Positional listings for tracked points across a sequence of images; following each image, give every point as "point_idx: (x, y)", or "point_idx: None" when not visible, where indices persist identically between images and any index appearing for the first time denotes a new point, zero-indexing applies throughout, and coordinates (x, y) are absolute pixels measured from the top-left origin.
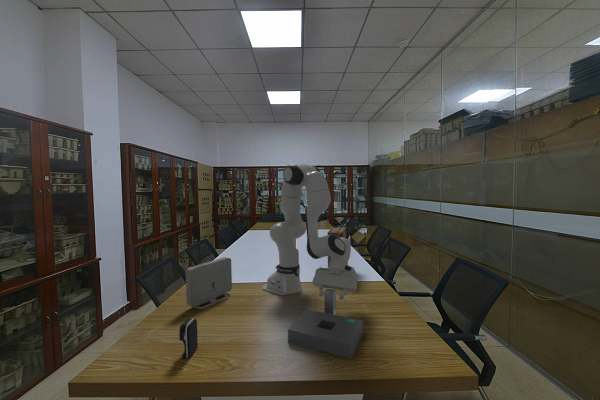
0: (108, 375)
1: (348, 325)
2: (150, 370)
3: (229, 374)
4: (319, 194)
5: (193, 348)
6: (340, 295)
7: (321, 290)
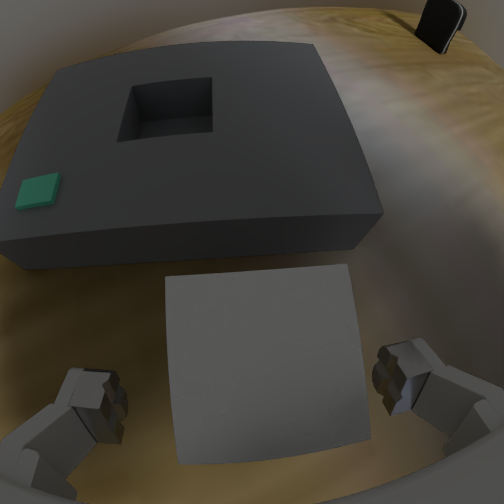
0: None
1: (53, 154)
2: (417, 22)
3: (323, 12)
4: None
5: (428, 35)
6: (93, 391)
7: (439, 416)
